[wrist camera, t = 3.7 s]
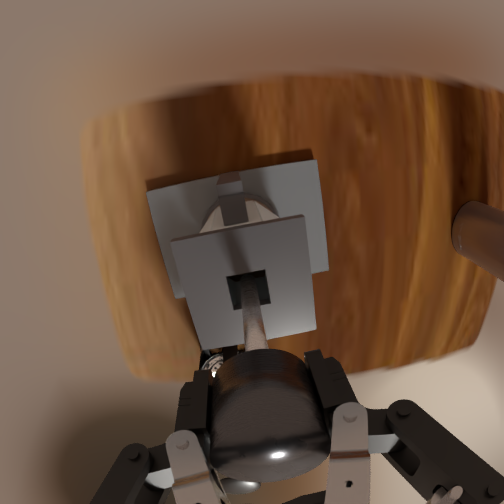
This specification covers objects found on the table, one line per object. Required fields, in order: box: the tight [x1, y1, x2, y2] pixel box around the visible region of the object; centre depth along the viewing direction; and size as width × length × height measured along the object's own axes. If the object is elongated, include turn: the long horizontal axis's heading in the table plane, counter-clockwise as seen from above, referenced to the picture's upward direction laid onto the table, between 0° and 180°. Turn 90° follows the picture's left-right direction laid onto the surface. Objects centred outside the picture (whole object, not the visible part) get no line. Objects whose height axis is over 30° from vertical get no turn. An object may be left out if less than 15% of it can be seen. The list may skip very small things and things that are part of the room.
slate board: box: [146, 159, 329, 299], centre depth 36 cm, size 20×14×1 cm
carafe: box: [170, 171, 316, 350], centre depth 28 cm, size 9×12×15 cm
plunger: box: [209, 274, 331, 482], centre depth 16 cm, size 4×4×15 cm
